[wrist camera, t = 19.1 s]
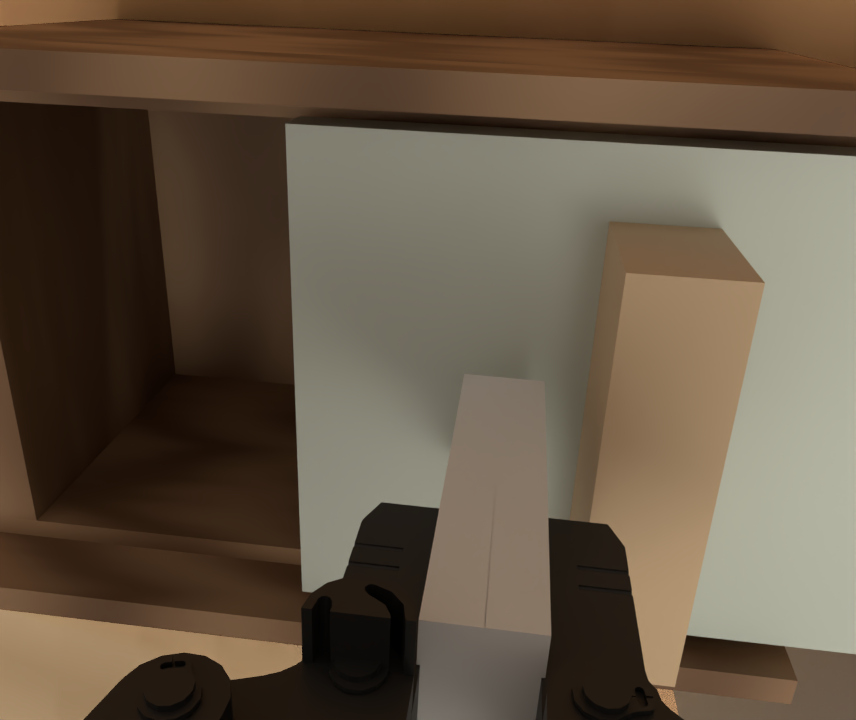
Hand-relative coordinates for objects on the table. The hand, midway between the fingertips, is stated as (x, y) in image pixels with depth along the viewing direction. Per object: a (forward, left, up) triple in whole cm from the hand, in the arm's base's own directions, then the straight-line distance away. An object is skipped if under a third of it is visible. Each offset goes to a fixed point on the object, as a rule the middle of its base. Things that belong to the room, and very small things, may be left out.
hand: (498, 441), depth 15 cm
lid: (+6, 0, -2) cm, 6 cm away
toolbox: (-3, 0, -13) cm, 13 cm away
